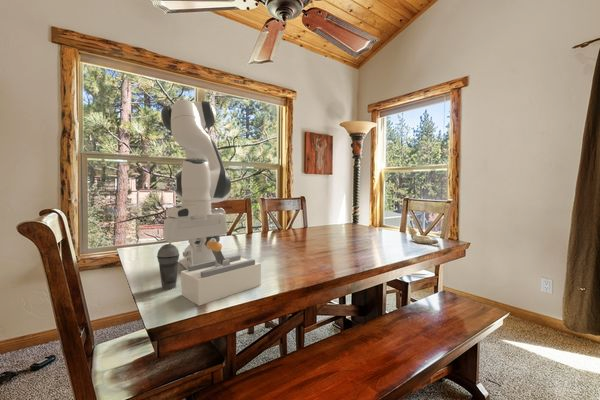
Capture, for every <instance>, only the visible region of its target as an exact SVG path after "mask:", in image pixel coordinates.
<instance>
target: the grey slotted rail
mask: <svg viewBox="0 0 600 400" xmlns="http://www.w3.org/2000/svg"><path fill="white" fill-rule="evenodd" d="M241 258H242V256H241V254H236V255H231V256H226V257H224V259H225V260H227V259H229V260H230V262H233V261H237V260H241ZM255 262H256V259H253V258H252V259H248V260H247V261H243V262H239V263H235V264H230V265H226V266H222V267H218V268H214V269H210V270H206V271H201V277H202V278H205V277H209V276H212V275H216V274H220V273H224V272H228V271H232V270H236V269H239V268H243V267H247V266H251V265H255ZM212 266H215V260H212V261H207V262H203V263H198V264H194V265H189V266H188V269H187V270H188V271H194V270H199V269H203V268H207V267H212Z"/></svg>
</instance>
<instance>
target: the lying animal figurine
mask: <svg viewBox="0 0 600 400" xmlns="http://www.w3.org/2000/svg"><path fill="white" fill-rule="evenodd" d="M407 231H408V234H409V235H410V237H411V240H412V241H414V242H415V243H416V244H426V245H429V244H430V245H437V244H438V243H439V241H438V240H437V239H436V240H435V239H431V237H429V236H426V235H417V233H418V232H417V231H416V230H415V229H414V228H413V227H411V226H410V225H409V224H408V225H407Z"/></svg>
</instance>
